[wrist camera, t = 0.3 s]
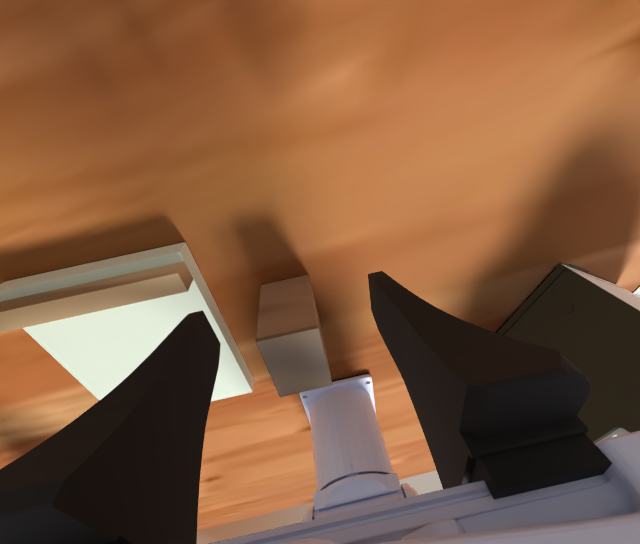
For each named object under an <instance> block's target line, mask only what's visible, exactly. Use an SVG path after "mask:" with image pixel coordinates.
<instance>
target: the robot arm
mask: <svg viewBox="0 0 640 544" xmlns="http://www.w3.org/2000/svg"><path fill="white" fill-rule="evenodd" d="M368 279H369V289H370V299H371V309H372V313H373V316H374V319H375V321H376V324H377V327H378V330H379V332H380V334H381V336H382V338H383V340H384V342H385V344H386V346H387V348H388V350H389V352H390V354H391V355H392V357H393V359H394V361H395V363H396V365H397V367H398V369H399V371H400V373H401V375H402V378H403V380H404V382H405V385H406V387H407V390H408V392H409V395H410V397H411V400H412V403H413V405H414V408H415V411H416V413H417V416H418V419H419V421H420V424H421V427H422V429H423V432H424V435H425V438H426V440H427V443H428V446H429V449H430V452H431V454H432V457H433V460H434V463H435V466H436V469H437V472H438V475H439V478H440V481H441V484H442V487H443V490H439V491H435V492H430V493H426V494H421V495H418V494H417V492H416V491H415V490H414V489H413V488H411V487H410V486H409V485H408V484H407V483H406V484H402V485H401V486H400V483H399V480H398V477H397V474H396V473H394V472H393V469H392V465H391V462H390V459H389V456H388V452H387V449H386V446H385V443H384V439H383V436H382V433H381V430H380V426H379V423H378V420H377V417H376V409H375V401H374V393H373V384H372V378H371V375H369V374H365V375H361V376H356V377H352V378H348V379H343V380H339V381H334V382H332V386H327V387H323V388H318V389H314V390H309V391H305V392H301V393H299V394H300V398H301V400H302V403H303V406H304V408H305V411H306V414H307V416H308V419H309V422H310V425H311V434H312V444H313V454H314V463H315V473H316V483H317V492H315V493H313V500H314V506H312V507H309V508H308V509H307V511H306V514H305V516H304V518H303V521H302V522H300V523H296V524H292V525H287V526H283V527H278V528H275V529H270V530H266V531H262V532H257V533H252V534H248V535H244V536H239V537H235V538H231V539H226V540H223V541H218V542H214V543H209V544H640V431H636V432H632V433H628V434H623V435H619V436H614V437H610V438H607V439H604V440H602V441H600V442H598V443H597V444H596V445H595V444H594V443H593V442H592V441H591V440H590V438H589V437H588V436H587V435H586V434H585V433H587V432H588V428H587V426H586V425H585V424H584V423H583V422H582V421H581V420H580V418H579V417H578V416H577V415H578V413H579V411H580V410H581V408H582V406H583V405H584V403H585V401H586V399H587V398H588V395H589V393H590V390H591V384H590V380H589V378H588V377H587V376H586V375H585V374H584V373H583V372H582V371H580V370H579V369H578V368H577V367H576V366H575V365H574V364H573V363H572V362H571V361H569V360H568V359H567V358H566V357H565V356H564V355H563V354H561V353H560V352H559V351H558V350H555V349H551V348H547V347H543V346H539V345H535V344H531V343H527V342H523V341H520V340H516V339H513V338H510V337H507V336H503V335H500V334H497V333H494V332H491V331H488V330H486V329H483V328H480V327H478V326H475V325H473V324H470V323H468V322H465V321H463V320H461V319H458V318H456V317H454V316H452V315H450V314H448V313H446V312H444V311H442V310H440V309H438V308H436V307H434V306H433V305H431V304H429V303H428V302H426V301H424V300H422V299H421V298H419V297H418V296H416V295H415V294H413V293H412V292H410V291H409V290H407V289H406V288H404V287H403V286H402V285H400V284H399V283H397V282H396V281H395V280H393V279H392V278H391V277H389V276H388V275H387V274H385V273H384V272H382V271H380V272H375V273H371V274H368ZM220 345H221V343H220V342H219V340H218V338H217V336H216V334H215V332H214V330H213V328H212V326H211V325H210V323H209V321H208V319H207V317H206V315H205V313H204V311H203V310H202V311H198V312H193V313H189V314H188V315H187V316H186V317H185V318H184V319H183V320H182V321H181V322H180V323H179V324H178V325H177V326H176V327H175V328H174V329H173V330H172V332H171V333H170V334H169V335H168V336H167V337H166V338H165V339H164V340H163V341H162V342H161V343H160V345H159V346H158V347H157V348H156V349H155V350H154V351H153V352H152V353H151V354H150V355H149V356H148V357H147V358H146V359H145V360H144V361H143V362H142V363H141V364H140V365H139V366H138V367H137V368H136V369H135V370H134V371H133V372H132V373H131V374H130V375H129V376H128V377H127V378H125V379H124V380H123V381H122V382H121V383H120V384H119V385H118V386H116V387H115V388H114V389H113V390H112V391H111V392H110V393H108V394H107V395H106V396H105V397H104V398H102V399H101V400H100V401H98V402H97V403H96V404H95V405H93V406H92V407H91V408H90V409H88V410H87V411H86V412H84V413H83V414H82V415H81V416H79V417H78V418H77V419H75V420H74V421H73V422H71V423H70V424H68V425H67V426H66V427H64V428H63V429H61V430H60V431H59V432H57V433H56V434H54V435H53V436H51V437H50V438H49V439H47V440H46V441H44V442H43V443H41V444H40V445H38V446H37V447H35V448H34V449H32V450H31V451H29V452H28V453H26V454H24V455H23V456H21V457H20V458H18V459H16V460H15V461H13V462H12V463H10V464H8V465H7V466H5V467H4V468H2V469H0V544H196V539H197V512H198V496H199V481H200V470H201V460H202V450H203V442H204V434H205V426H206V421H207V415H208V411H209V407H210V402H211V398H212V394H213V390H214V385H215V381H216V376H217V372H218V367H219V359H220Z"/></svg>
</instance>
